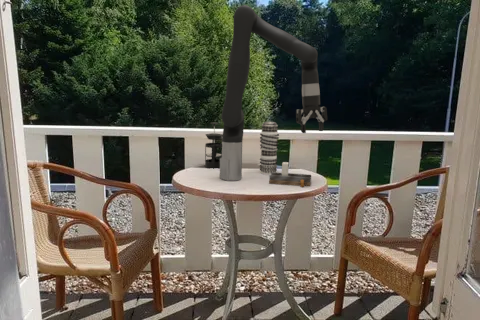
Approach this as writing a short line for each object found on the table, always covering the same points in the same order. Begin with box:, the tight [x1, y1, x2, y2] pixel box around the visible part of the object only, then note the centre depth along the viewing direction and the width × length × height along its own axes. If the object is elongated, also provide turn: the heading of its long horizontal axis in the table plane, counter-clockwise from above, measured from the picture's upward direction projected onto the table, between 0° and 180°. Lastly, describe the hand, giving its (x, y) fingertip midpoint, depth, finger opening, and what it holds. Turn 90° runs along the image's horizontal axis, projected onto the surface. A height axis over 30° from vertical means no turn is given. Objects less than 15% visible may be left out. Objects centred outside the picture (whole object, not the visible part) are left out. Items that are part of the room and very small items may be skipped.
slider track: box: [268, 171, 312, 188], centre depth 186 cm, size 18×11×4 cm, turn 79°
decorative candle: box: [259, 121, 280, 176], centre depth 204 cm, size 9×9×25 cm
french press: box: [204, 122, 223, 170], centre depth 215 cm, size 12×9×23 cm
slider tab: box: [280, 161, 290, 176], centre depth 187 cm, size 5×4×7 cm
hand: (312, 131), depth 183 cm, fingers open, 8 cm apart
